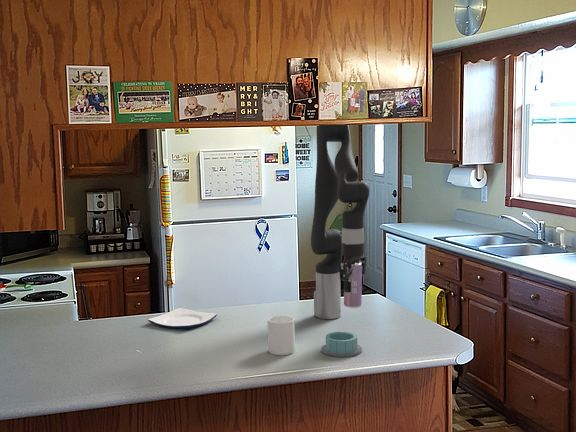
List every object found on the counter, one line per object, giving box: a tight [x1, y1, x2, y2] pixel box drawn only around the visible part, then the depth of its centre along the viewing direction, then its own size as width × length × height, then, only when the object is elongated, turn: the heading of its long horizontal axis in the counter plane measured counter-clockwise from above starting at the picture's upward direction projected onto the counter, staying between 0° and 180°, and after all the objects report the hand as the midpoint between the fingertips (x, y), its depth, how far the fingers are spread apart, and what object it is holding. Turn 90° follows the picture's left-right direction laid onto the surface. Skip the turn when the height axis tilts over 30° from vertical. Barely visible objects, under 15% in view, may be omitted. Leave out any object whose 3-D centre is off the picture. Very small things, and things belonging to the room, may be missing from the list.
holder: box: [321, 331, 363, 359], centre depth 230 cm, size 13×13×5 cm
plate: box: [147, 307, 218, 330], centre depth 266 cm, size 20×20×3 cm
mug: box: [266, 315, 296, 356], centre depth 231 cm, size 9×12×11 cm
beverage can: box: [343, 263, 363, 309], centre depth 241 cm, size 6×6×15 cm
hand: (352, 289), depth 241 cm, fingers closed on beverage can, 6 cm apart
